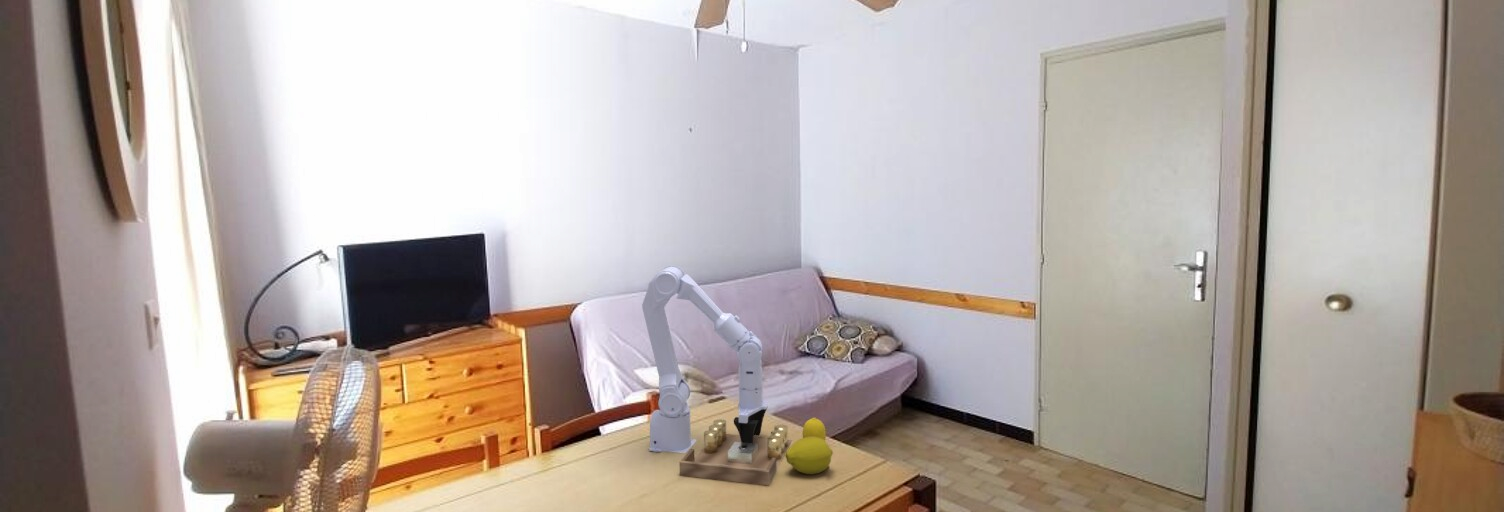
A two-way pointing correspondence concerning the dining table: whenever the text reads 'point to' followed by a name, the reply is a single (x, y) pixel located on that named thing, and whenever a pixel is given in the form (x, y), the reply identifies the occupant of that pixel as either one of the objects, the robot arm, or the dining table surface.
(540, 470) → the dining table surface
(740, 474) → the tray
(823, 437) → the lemon
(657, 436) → the robot arm
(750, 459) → the square block with knob
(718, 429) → the spacers
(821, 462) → the lemon
